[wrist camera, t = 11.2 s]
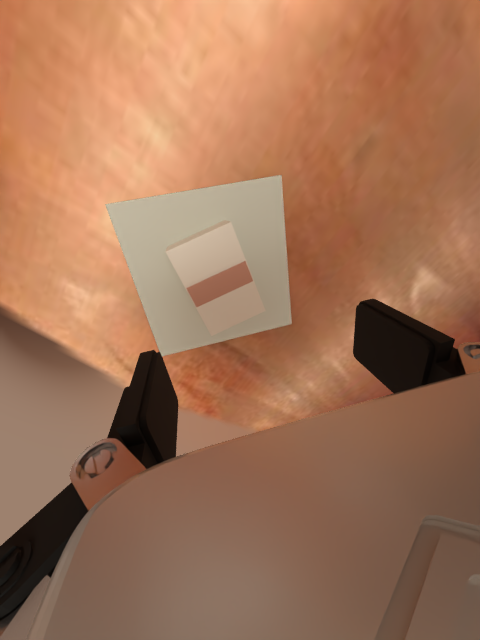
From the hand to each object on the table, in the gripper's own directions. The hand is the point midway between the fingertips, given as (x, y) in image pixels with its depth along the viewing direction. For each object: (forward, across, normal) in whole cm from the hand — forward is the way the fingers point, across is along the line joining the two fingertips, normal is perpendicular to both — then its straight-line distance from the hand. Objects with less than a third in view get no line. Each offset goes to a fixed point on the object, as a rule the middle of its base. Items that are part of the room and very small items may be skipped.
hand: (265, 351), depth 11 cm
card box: (+16, +1, 0) cm, 16 cm away
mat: (+16, +1, 0) cm, 16 cm away
